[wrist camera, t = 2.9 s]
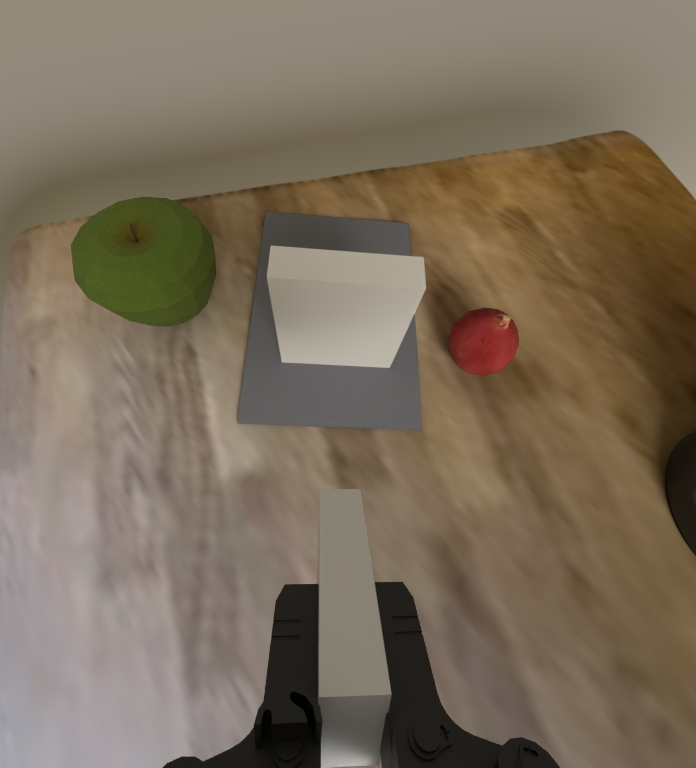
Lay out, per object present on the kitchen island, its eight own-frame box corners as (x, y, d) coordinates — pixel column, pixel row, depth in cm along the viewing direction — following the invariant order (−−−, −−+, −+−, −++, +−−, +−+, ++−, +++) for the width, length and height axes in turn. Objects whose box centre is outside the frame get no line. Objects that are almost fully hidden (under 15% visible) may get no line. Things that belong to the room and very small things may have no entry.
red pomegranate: (428, 342, 37) (457, 293, 29) (478, 328, 38) (519, 278, 30) (452, 394, 35) (490, 356, 27) (505, 378, 36) (555, 338, 28)
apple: (193, 243, 39) (156, 151, 29) (252, 310, 36) (232, 233, 27) (93, 294, 35) (17, 209, 26) (151, 373, 33) (88, 309, 24)
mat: (420, 430, 33) (422, 428, 32) (238, 423, 32) (237, 421, 31) (407, 227, 42) (408, 223, 42) (266, 215, 41) (265, 211, 40)
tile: (389, 367, 34) (426, 288, 23) (281, 362, 34) (266, 277, 23) (388, 342, 35) (423, 254, 24) (284, 336, 35) (271, 242, 24)
